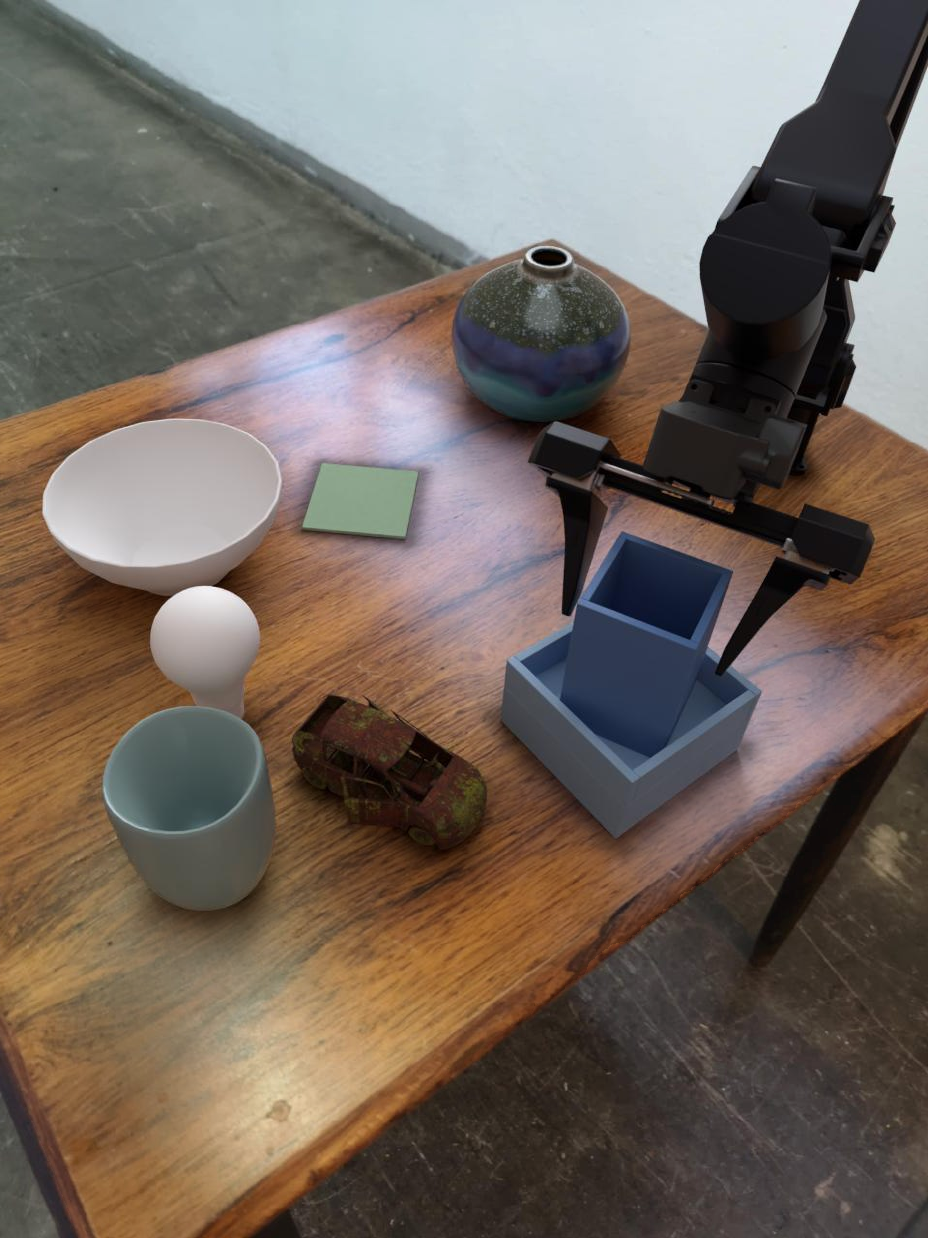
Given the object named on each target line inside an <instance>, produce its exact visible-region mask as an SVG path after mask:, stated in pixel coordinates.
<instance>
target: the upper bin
mask: <svg viewBox="0 0 928 1238" xmlns="http://www.w3.org/2000/svg"><path fill="white" fill-rule="evenodd" d="M733 575H734V570H732V569H729V568H726V567H724V566H720V565H718V564H715V563H712V562H709V561H706V560H704V559H701V558H698V557H696V556H694V555H693V556H692V555H691V554H687V553H684V552H682V551H679V550H677V549H673V548H670V547H667V546H665V545H662V544H659V543H657V542H654V541H651V540H648V539H645V538H643V537H639V536H637V535H634V534H631V533H628V532H626V531H623V530H622V531H621V532H620V533H619V535H618V536H617V538H616V540H615V541H614V542H613V545H612V546H611V547H610V549H609V551H608V552H607V554H606V556H605V557H604V559H603V561H602V562H601V564H600V566H599V567H598V569H597V570H596V572H595V573H594V575H593V577H592V579H591V580H590V582H589V584H588V585H587V586H586V588H585V590H584V591H583V593H582V594H581V595H580V597H579V600H578V602H577V604H576V606H575V613H574V618H573V621H574V623H573V629H572V634H571V640H570V646H569V651H568V657H567V662H566V668H565V673H564V679H563V684H562V690H561V696H560V701H561V702H562V703H563V704H564V705H565V706H566V707H567V708H568V709H569V710H570V711H571V712H572V713H574V714H575V715H576V716H577V717H578V718H579V719H580V720H581V721H582V722H583V723H584V724H585V725H586V726H587V727H588V728H589V729H590V730H591V731H592V732H593V733H594V734H596V735H598V736H601V737H603V738H605V739H608V740H610V741H612V742H615V743H617V744H619V745H622V746H624V747H626V748H629V749H631V750H633V751H636V752H638V753H640V754H643V755H645V756H648V757H650V758H651V757H653V756H654V755H656V754H657V753H658V752H660V751H661V750H663V749H664V748H666V747H667V744H668V742H669V740H670V738H671V736H672V734H673V731H674V729H675V727H676V725H677V723H678V720H679V718H680V716H681V714H682V712H683V710H684V707H685V705H686V703H687V701H688V699H689V696H690V694H691V692H692V690H693V688H694V686H695V683H696V680H697V677H698V674H699V671H700V668H701V665H702V662H703V659H704V656H705V653H706V651H707V648H708V647H709V645H710V642H711V639H712V636H713V633H714V630H715V627H716V624H717V621H718V618H719V616H720V613H721V610H722V607H723V604H724V601H725V598H726V594H727V591H728V589H729V586H730V583H731V580H732V578H733Z"/></svg>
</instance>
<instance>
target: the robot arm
mask: <svg viewBox="0 0 928 1238" xmlns="http://www.w3.org/2000/svg"><path fill="white" fill-rule="evenodd" d="M927 69H928V0H858V3H857V5H856V7H855V10H854V12H853V15H852V16H851V19H850V21H849V24H848V26H847V28H846V31H845V33H844V35H843V37H842V40H841V42H840V45H839V47H838V49H837V52H836V54H835V56H834V58H833V60H832V63H831V65H830V68H829V70H828V72H827V75H826V77H825V79H824V82H823V84H822V87H821V88H820V90H819V93H818V94H817V97H816V99H815V102H814V103H812V104H810V105H809V106H807V107H806V108H804V109H803V110H801V111H800V112H798V113H797V114H795V115H794V116H792V117H791V118H789V119H788V120H786V121H784V122H782V124H781V125H780V126H779V129H778V130H777V132H776V135H775V137H774V139H773V141H772V143H771V145H770V147H769V149H768V151H767V152H766V155H765V157H764V160H763V161H762V164H761V165H760V166H757V165H752V166H751V167H750V169H749V170H748V172H747V173H746V175H745V176H744V178H743V180H742V181H741V182H740V184H739V186H738V188H736V191H735V192H734V194H733V195H732V197H731V199H730V200H729V201H728V203H727V205H726V206H725V208H724V210H723V211H722V213H721V214H720V215H719V217H718V219H717V221H716V224H715V227H714V230H712V232H711V233H710V234H709V235H708V236H707V238H706V240H705V242H704V244H703V246H702V250H701V253H700V258H699V264H698V265H699V267H698V268H699V282H700V288H701V294H702V300H703V307H704V313H705V318H706V323H707V328H708V332H707V335H706V337H705V340H704V341H703V345H702V347H701V350H700V352H699V355H698V357H697V360H696V362H695V365H694V367H693V370H692V373H691V375H690V377H689V380H688V382H687V384H686V386H685V388H684V391H683V394H682V396H681V397H680V398H679V399H678V400H677V401H673V402H671V403H669V404H666V405H664V406H661V408H660V410H659V413H658V417H657V420H656V423H655V427H654V428H653V432H652V436H651V439H650V442H649V445H648V448H647V451H646V454H645V457H644V460H643V464H639V463H637V462H633V461H631V460H628V459H625V458H621V457H622V454H621V452H620V451H619V449H618V448H617V447H616V445H615V444H614V442H613V441H612V440H611V438H608V437H605V436H603V435H599V434H596V433H593V432H590V431H587V430H584V429H581V428H578V427H575V426H572V425H569V424H566V423H564V422H563V423H562V422H560V421H552V422H551V423H550V424H548V425H546V426H545V427H543V428H542V430H540V432H539V433H538V435H537V436H536V438H535V441H534V444H533V447H532V449H531V452H530V455H529V457H528V460H527V463H528V464H529V465H530V466H531V467H533V468H534V469H535V470H536V471H537V472H539V474H541V476H543V477H545V481H544V487H545V488H547V489H548V490H549V491H550V492H552V493H553V494H555V495H556V496H557V497H558V498H559V502H560V505H561V506H560V507H561V512H562V519H563V531H564V556H563V575H562V595H561V615H563V616H566V617H569V618H570V617H571V616H572V614H573V612H574V610H575V609H576V607H577V603H578V601H579V600H580V598H581V596H582V594H583V593H582V592H583V590H584V586H585V583H586V580H587V577H588V573H589V571H590V567H591V565H592V561H593V559H594V555H595V552H596V549H597V545H598V542H599V540H600V535H601V533H602V530H603V526H604V523H605V520H606V517H607V514H608V510H609V506H608V505H607V504H606V503H605V502H603V500H601V497H602V494H603V493H604V494H605V493H606V492H607V491H608V490H610V489H611V490H613V491H617V492H619V493H623V494H626V495H629V496H631V497H634V498H636V499H640V500H642V501H646V502H649V503H651V504H654V505H657V506H660V507H663V508H666V509H669V510H672V511H675V512H678V513H679V514H680V513H681V514H683V515H686V516H689V517H692V518H694V519H698V520H700V521H703V522H706V523H710V524H713V525H715V526H718V527H721V528H724V529H727V530H730V531H732V532H735V533H738V534H741V535H744V536H747V537H750V538H752V539H755V540H758V541H761V542H765V543H767V544H770V545H772V546H774V547H775V546H776V547H778V548H781V552H780V555H782V556H783V557H781V556H778V555H776V556H775V558H774V559H773V561H772V563H771V565H770V567H769V569H768V571H767V572H766V574H765V576H764V578H763V580H762V582H761V583H760V585H759V587H758V589H757V591H756V592H755V594H754V596H753V598H752V599H751V601H750V603H749V605H748V607H747V608H746V610H745V612H744V614H743V615H742V617H741V619H740V621H739V623H738V624H737V626H736V628H735V629H734V631H733V633H732V635H731V636H730V638H729V640H728V641H727V643H726V645H725V647H724V649H723V651H722V654H721V656H720V657H721V659H720V661H719V664H718V666H717V669H716V671H715V675H718V676H722V675H723V674H724V673H725V672H726V670H727V669H728V668H729V667H730V665H731V666H732V664H733V663H734V662H735V661H736V660H737V658H738V657H739V656H740V655H741V654H742V652H743V651H744V650H745V649H746V648H747V646H748V645H749V644H750V642H751V641H752V640H753V639H754V637H755V636H756V635H757V634H758V633H759V631H760V630H761V629H763V627H764V626H765V624H766V623H767V622H768V621H769V620H770V619H771V618H772V617H773V616H774V615H775V614H776V612H778V611H779V610H780V609H781V608H782V607H783V606H785V604H786V603H787V602H789V601H790V600H791V599H792V598H793V597H795V595H796V594H797V593H799V592H800V590H802V589H803V588H805V587H806V588H807V587H808V588H810V589H813V590H816V591H823V590H824V589H825V588H826V587H827V586H828V584H829V582H830V581H831V579H832V580H835V581H837V582H839V583H843V584H848V585H853V583H855V582H856V581H858V580H859V579H860V578H861V576H862V573H863V571H864V568H865V566H866V565H867V562H868V559H869V557H870V554H871V553H872V549H873V547H874V544H875V541H876V538H875V535H874V532H873V531H872V528H871V526H870V524H869V523H866V522H863V521H861V520H857V519H854V518H851V517H848V516H845V515H842V514H839V513H836V512H833V511H829V510H827V509H824V508H821V507H817V506H814V505H812V504H809V503H805V502H804V504H803V506H802V508H801V510H800V512H799V516H798V517H797V516H795V515H792V514H788V513H786V512H783V511H780V510H777V509H773V508H770V507H768V506H764V505H761V504H759V503H755V502H754V500H755V498H756V495H757V493H758V491H759V488H760V485H762V486H765V487H769V488H771V489H774V490H778V491H780V490H781V489H782V488H783V487H784V486H785V483H786V482H787V480H788V478H789V475H790V474H794V475H804V474H806V472H807V471H808V465H807V461H806V458H805V455H806V453H807V449H808V446H809V443H810V441H811V438H812V435H813V433H814V430H815V428H816V425H817V421H818V419H819V416H823V417H828V416H829V413H830V411H831V410H835V409H841V408H842V406H843V405H844V402H845V399H846V397H847V394H848V392H849V388H850V386H851V383H852V381H853V378H854V375H855V372H856V369H857V365H856V363H855V360H854V357H855V354H854V353H853V352H854V350H855V344H852V343H849V342H848V340H849V337H850V335H851V332H852V329H853V327H854V324H855V321H856V313H855V308H854V307H855V306H854V301H853V296H852V291H851V285H850V281H851V282H855V283H858V282H859V281H860V279H861V277H862V276H863V274H864V272H865V271H866V272H868V273H869V272H870V273H875V272H876V270H877V269H878V266H879V264H880V262H881V260H882V258H883V256H884V254H885V252H886V250H887V248H888V246H889V244H890V240H891V238H892V235H893V233H894V231H895V227H896V225H897V222H896V220H895V217H894V216H893V215H894V214H893V212H894V210H895V207H896V206H895V205H894V204H893V201H894V197H892V196H888V195H884V192H885V189H886V186H887V182H888V179H889V176H890V173H891V169H892V166H893V163H894V160H895V157H896V153H897V150H898V147H899V145H900V142H901V139H902V137H903V134H904V131H905V129H906V126H907V123H908V120H909V118H910V115H911V112H912V110H913V107H914V105H915V102H916V100H917V96H918V93H919V91H920V88H921V86H922V83H923V81H924V78H925V75H926V73H927ZM674 485H675V486H674ZM672 494H673V495H672ZM712 498H713V499H712ZM714 499H716V500H719V501H722V502H725V503H728V504H731V505H732V507H733V511H731V510H729V511H728V510H726V509H724V508H720V507H718V506H714V505H715V500H714Z"/></svg>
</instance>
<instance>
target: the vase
mask: <svg viewBox="0 0 928 1238" xmlns="http://www.w3.org/2000/svg"><path fill="white" fill-rule="evenodd" d="M629 319H630V318H629V315H628V312H627V309H626V308H625V305H624V303H623V301H622V299H621V298H620V296H619V295H618V294H617V293H616V291H615V290H614V289H613V288H612V287H611V286H610V284H608V283H607V282H606V281H605V280H603V279H602V278H601V277H600V276H598V275H597V274H595V273H593V272H592V271H590V270H589V269H587V268H585V267H583V266H581V265H579V264H578V263H575V258H574V256H573V255H572V253H571V252H569V251H568V250H567V249H565V248H562V247H559V246H553V245H538V246H534V247H532V248H530V249H528V250H527V251H526V252H525V253H524V256H523V258H520V259H516V260H513V261H510V262H508V263H507V262H506V263H505V264H502V265H500V266H498V267H496V268H494V269H492V270H489V271H488V272H486V273H484V274H483V275H482V276H481V277H480V276H479V278H478V279H477V280H476V281H475V282H473V283H472V284H471V286H469V287H468V289H467V290H466V292H465V293H464V294H463V296H462V297H461V299H460V300H459V301H458V304H457V306H456V309H455V313H454V316H453V319H452V326H451V351H452V353H453V358H454V361H455V365H456V369H457V370H458V372H459V374H460V377H461V378H462V380H463V382H464V384H465V385H466V387H467V388H468V389H469V391H470V392H471V393H472V395H474V396H475V397H476V399H478V400H479V401H480V402H481V403H483V404H484V405H485V406H486V407H488V408H489V409H491V410H493V411H495V412H496V413H499V414H501V415H504V416H506V417H508V418H512V419H516V420H519V421H525V422H533V423H534V422H536V423H547V422H548V423H550V422H551V423H553V422H554V421H557V422H559V421H563V420H568V419H571V418H574V417H577V416H579V415H581V414H583V413H586V412H587V411H589V410H590V409H592V408H594V407H595V406H596V405H597V404H599V403H600V402H601V401H602V400H603V399H604V398H605V397H606V396H608V394H609V393H610V392H611V391H612V390H613V388H614V387H615V385H616V384H617V383H618V381H619V380H620V378H621V376H622V374H623V371H624V369H625V367H626V364H627V361H628V358H629V355H630V351H631V350H630V349H631V339H632V333H631V332H632V331H631V324H630V320H629Z"/></svg>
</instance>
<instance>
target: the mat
mask: <svg viewBox="0 0 928 1238" xmlns="http://www.w3.org/2000/svg"><path fill="white" fill-rule="evenodd" d="M418 479H419V471H417V470H406V469H396V468H395V469H394V468H382V467H373V466H360V465H350V464H349V465H348V464H340V463H339V464H336V463H326V462H322V463H321V466H320V468H319V471H318V475H317V478H316V481H315V483H314V484H315V485H314V488H313V490H312V493H311V497H310V499H309V504H308V507H307V510H306V513H305V516H304V519H303V522H302V525H301V530H302V531H308V532H309V531H311V532H320V533H321V532H322V533H330V534H332V533H333V534H342V535H351V536H353V535H354V536H364V537H365V536H366V537H375V538H378V537H379V538H387V539H396V540H406V538H407V534H408V528H409V523H410V518H411V513H412V509H413V504H414V500H415V499H414V498H415V494H416V489H417V483H418Z"/></svg>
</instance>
